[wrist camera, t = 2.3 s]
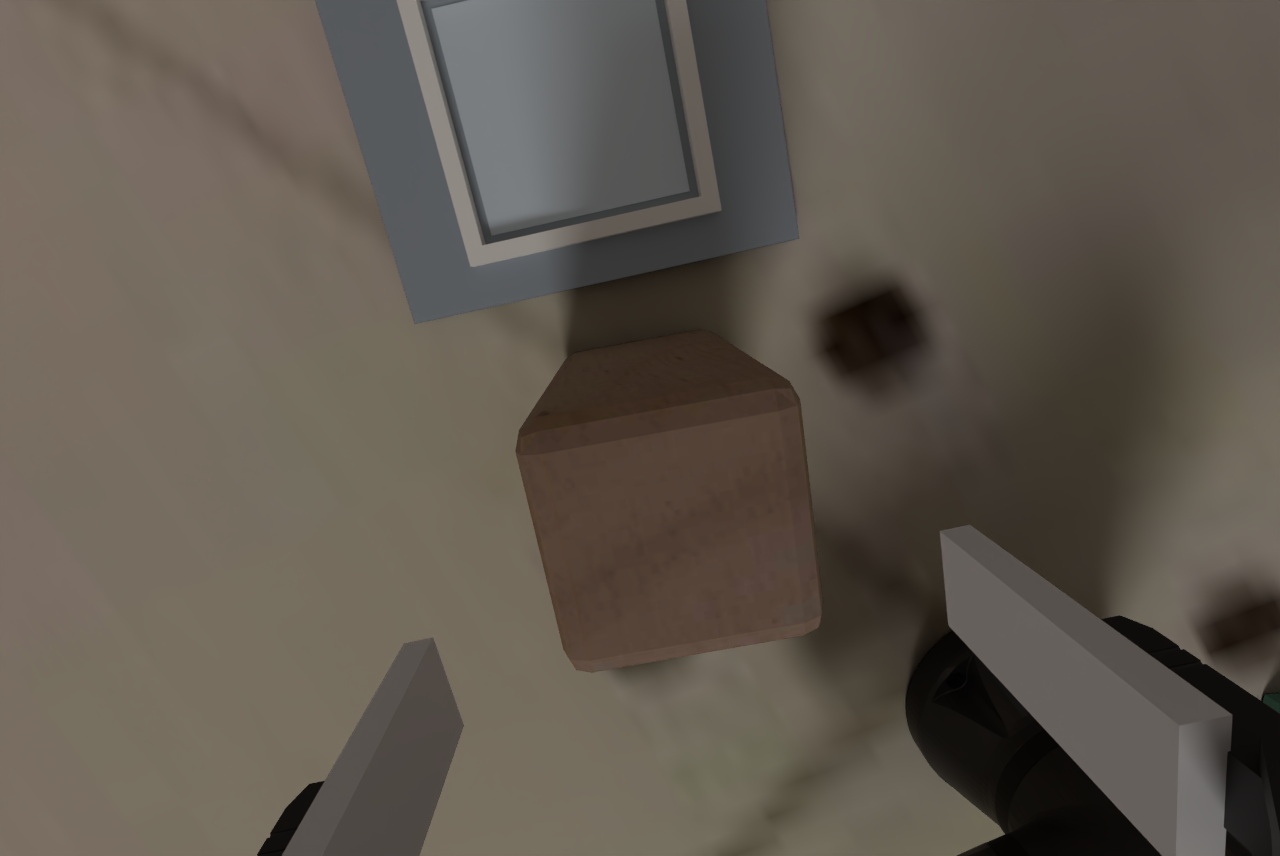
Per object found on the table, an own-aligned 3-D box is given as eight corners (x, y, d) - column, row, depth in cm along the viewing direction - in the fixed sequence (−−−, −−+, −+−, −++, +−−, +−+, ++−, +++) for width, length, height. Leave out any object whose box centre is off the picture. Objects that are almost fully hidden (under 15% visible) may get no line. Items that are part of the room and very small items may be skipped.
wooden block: (561, 353, 39) (503, 431, 20) (713, 325, 39) (805, 375, 19) (592, 495, 41) (566, 688, 22) (734, 469, 41) (835, 642, 22)
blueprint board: (738, -136, 33) (748, -169, 30) (792, 239, 38) (804, 237, 35) (313, -35, 33) (289, -60, 31) (422, 322, 38) (408, 325, 36)
